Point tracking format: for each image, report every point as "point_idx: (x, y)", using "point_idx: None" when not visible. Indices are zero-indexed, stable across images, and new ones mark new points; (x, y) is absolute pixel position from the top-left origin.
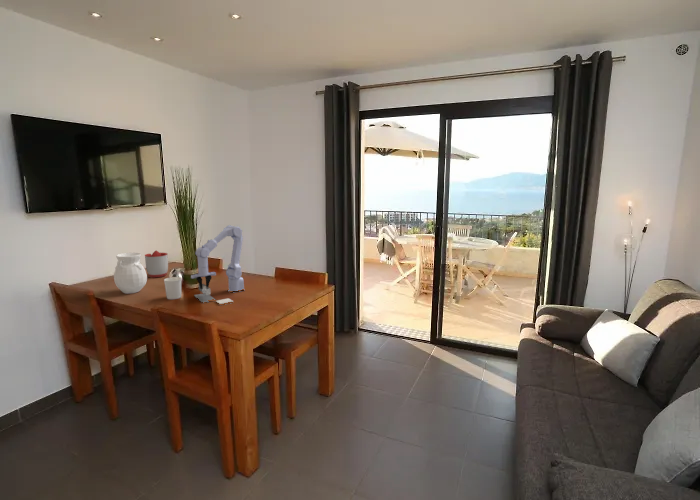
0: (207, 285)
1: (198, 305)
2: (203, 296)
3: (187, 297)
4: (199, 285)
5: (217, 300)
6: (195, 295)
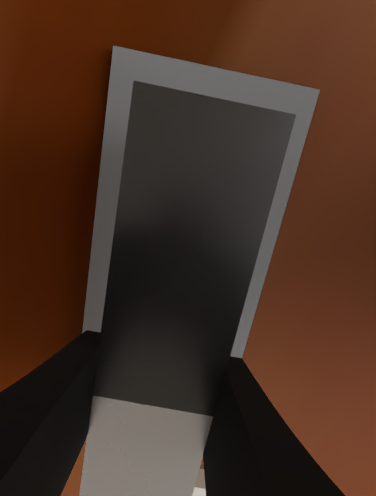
0: (207, 479)
1: None
2: None
3: (6, 52)
4: (120, 200)
5: (203, 491)
6: (121, 84)
